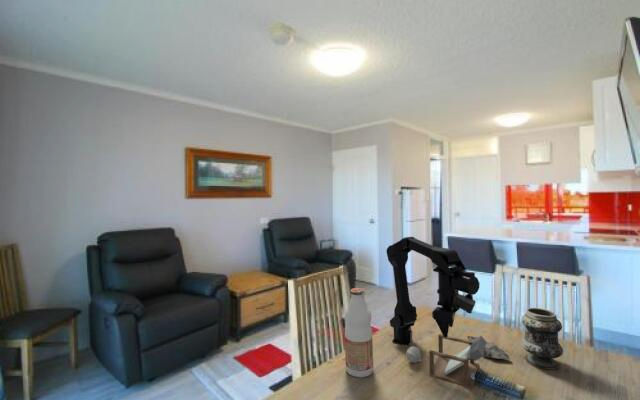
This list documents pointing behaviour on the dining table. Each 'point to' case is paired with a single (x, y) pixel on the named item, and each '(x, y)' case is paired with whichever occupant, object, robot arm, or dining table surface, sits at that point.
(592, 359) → the dining table surface
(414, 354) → the garlic
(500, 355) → the mineral rock
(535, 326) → the apothecary jar
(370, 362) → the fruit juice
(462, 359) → the stand
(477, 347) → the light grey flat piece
